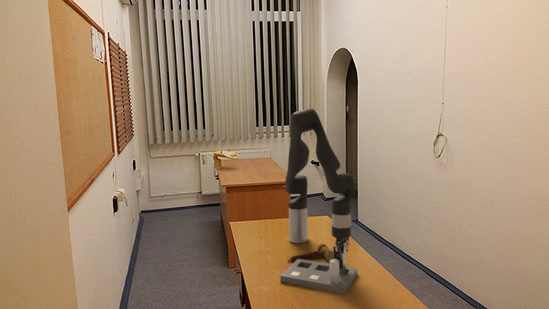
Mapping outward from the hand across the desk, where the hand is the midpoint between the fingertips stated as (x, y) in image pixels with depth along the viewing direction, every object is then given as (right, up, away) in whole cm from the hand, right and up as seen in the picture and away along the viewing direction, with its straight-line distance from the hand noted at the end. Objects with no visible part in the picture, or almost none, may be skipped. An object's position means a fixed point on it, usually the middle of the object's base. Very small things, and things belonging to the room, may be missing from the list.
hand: (341, 265), depth 162 cm
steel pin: (0, -3, 0) cm, 3 cm away
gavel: (-11, -3, +20) cm, 23 cm away
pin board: (-9, -5, +1) cm, 10 cm away
